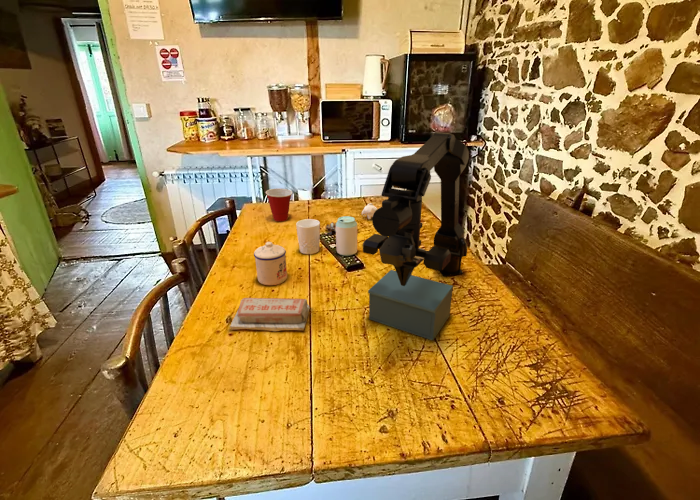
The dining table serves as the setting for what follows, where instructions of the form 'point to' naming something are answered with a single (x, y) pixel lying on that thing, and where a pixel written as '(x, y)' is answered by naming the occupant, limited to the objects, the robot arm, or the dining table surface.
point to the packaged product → (271, 314)
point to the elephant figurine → (369, 210)
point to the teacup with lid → (271, 264)
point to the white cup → (308, 235)
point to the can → (346, 236)
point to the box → (409, 316)
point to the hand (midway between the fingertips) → (403, 285)
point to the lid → (412, 291)
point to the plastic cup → (279, 203)
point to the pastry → (331, 228)
